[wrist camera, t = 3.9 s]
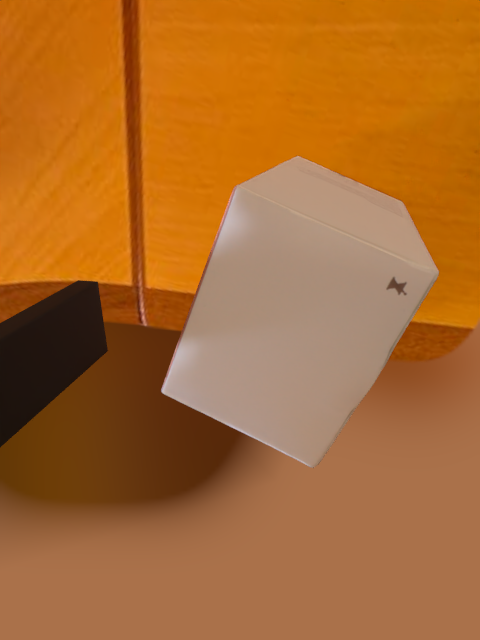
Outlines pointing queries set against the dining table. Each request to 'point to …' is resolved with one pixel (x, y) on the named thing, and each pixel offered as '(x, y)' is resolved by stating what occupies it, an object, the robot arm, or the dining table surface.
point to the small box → (299, 306)
